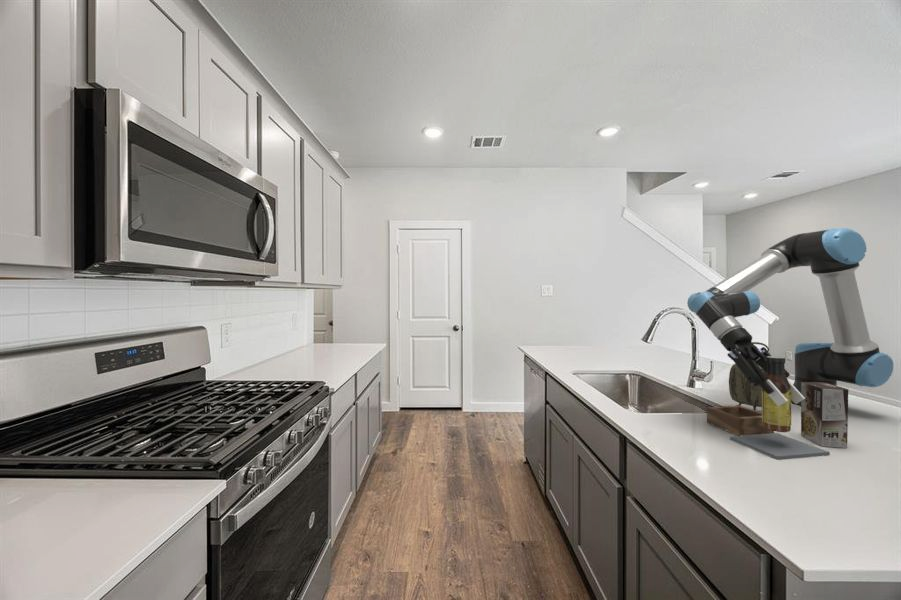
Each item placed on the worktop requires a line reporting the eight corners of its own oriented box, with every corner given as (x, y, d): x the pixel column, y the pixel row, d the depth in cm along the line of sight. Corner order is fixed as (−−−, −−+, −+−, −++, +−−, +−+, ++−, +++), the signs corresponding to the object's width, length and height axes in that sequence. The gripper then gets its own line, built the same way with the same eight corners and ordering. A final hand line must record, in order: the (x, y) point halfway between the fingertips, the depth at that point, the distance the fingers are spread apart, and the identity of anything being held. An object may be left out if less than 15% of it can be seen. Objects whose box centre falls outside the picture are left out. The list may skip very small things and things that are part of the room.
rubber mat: (777, 435, 118) (777, 433, 118) (829, 455, 104) (829, 451, 104) (730, 439, 115) (730, 436, 115) (777, 459, 101) (777, 456, 101)
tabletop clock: (784, 416, 136) (785, 343, 135) (780, 422, 130) (781, 345, 129) (733, 407, 146) (734, 339, 146) (727, 412, 140) (727, 341, 140)
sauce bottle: (796, 434, 106) (798, 359, 105) (769, 432, 107) (771, 358, 106) (781, 425, 112) (782, 355, 112) (756, 424, 113) (757, 354, 113)
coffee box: (848, 448, 108) (850, 389, 108) (821, 446, 110) (822, 388, 109) (824, 436, 117) (825, 381, 117) (799, 434, 119) (800, 380, 118)
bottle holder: (738, 420, 132) (739, 405, 132) (773, 433, 120) (774, 416, 120) (706, 422, 130) (706, 407, 130) (739, 435, 118) (739, 418, 118)
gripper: (744, 340, 127) (803, 406, 112) (699, 343, 120) (756, 413, 105) (762, 325, 122) (826, 391, 107) (717, 327, 115) (778, 398, 100)
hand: (791, 402), depth 106 cm, fingers closed on sauce bottle, 6 cm apart
